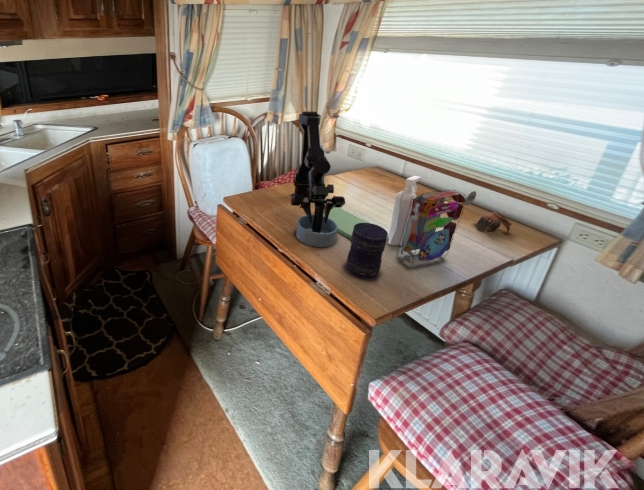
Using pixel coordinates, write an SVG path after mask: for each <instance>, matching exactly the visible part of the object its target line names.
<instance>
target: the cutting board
mask: <svg viewBox="0 0 644 490" xmlns="http://www.w3.org/2000/svg"><path fill="white" fill-rule="evenodd" d="M323 216H324V214H323ZM328 218H330V219H331V220H333V221H334V222H335V223H336V224H337V226H338V229H337V233H339V234H341V235H342V236H344V237H346V238H347V239H350V240H351V237H352V233H353V228H354V225H356V224H358V223H370V222H368V221H366V220H364V219H362V218H360V217H358V216H357V215H355V214H352V213H351V212H349V211H347V210H345V209H344V208H343V209H342V207H341V208H333V209H331V211H330V213H329V217H328Z"/></svg>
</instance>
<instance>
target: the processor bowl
mask: <svg viewBox="0 0 644 490" xmlns="http://www.w3.org/2000/svg"><path fill="white" fill-rule="evenodd" d="M311 215H312V223H310V221H309V219H308V217H307V215H306V214H305V215H301V216H299V218H298V219H297V220H296V221H297V222H296V230H295V236H296V239H298V240H299V241H300V242H302V243H304V244H305V245H307V246H310V247H315V248H326V247H331V246H332V245H334V244H335V243H336V240H337V234H338V232H337V229H338V226H337V224H336V223H335V222H334V221H333V220H331V219H330V218H328V220H327V223H326V224H325V222H324V216H323V220H322V227H321V232H322V233H315V232H311V231H309V230H306V229H305V227H308V228H311V229H312V226H313V219H314V214H311Z"/></svg>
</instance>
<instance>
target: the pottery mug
mask: <svg viewBox="0 0 644 490" xmlns="http://www.w3.org/2000/svg"><path fill="white" fill-rule="evenodd" d="M501 225H503V226H504V227H505V228H506V230H505V232H504V233H505V234H508V233H509V232H510V230H511V226H512V225H513V223H512V222H511V221H510V220H509V219H507V218H506V217H505V216H503V215H501V214H500V213H499V212H498V211H495V210H492V211H491V212H489V213H485V214H483V215H482V216H481V217H480V218H479V219H478V220H477V222H476V223H475V226H476V228H478V230H479V231H481V232H484V230H485V231H486V232H487V233H491V234H492V233H494V232H496V230H497V229H499V228H500V227H501Z"/></svg>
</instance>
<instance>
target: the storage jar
mask: <svg viewBox="0 0 644 490" xmlns="http://www.w3.org/2000/svg"><path fill="white" fill-rule="evenodd" d="M388 237H389V232H388V231H387V229H385V228H384V227H382V226H380V225H378V224H375V223H371V222H369V223H358V224H356V225H354V228H353V233H352V237H351V239H350V248H349V250H348V254H347V257H346V265H345V269H346V271H347V272H348V273H349V274H350V275H352V276H354V277H355V278H357V279H359V280H365V281H366V280H367V281H369V280H370V281H371V280H375V279H377V278H378V276H379V272H380V270H381V266H382V256H383V253H384V251H385V249H386V245H387V240H388Z"/></svg>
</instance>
